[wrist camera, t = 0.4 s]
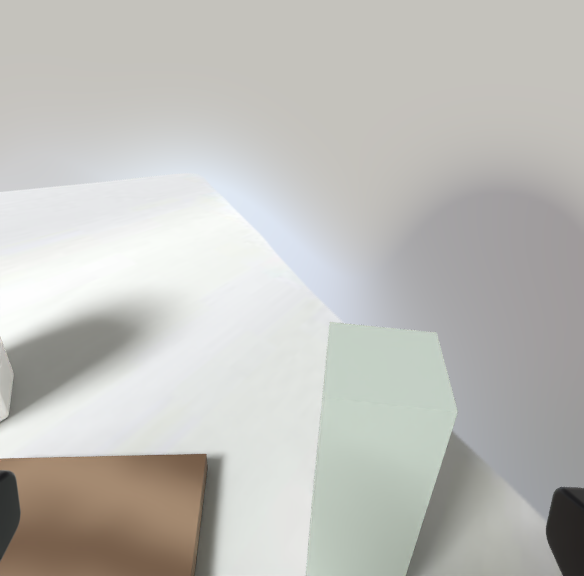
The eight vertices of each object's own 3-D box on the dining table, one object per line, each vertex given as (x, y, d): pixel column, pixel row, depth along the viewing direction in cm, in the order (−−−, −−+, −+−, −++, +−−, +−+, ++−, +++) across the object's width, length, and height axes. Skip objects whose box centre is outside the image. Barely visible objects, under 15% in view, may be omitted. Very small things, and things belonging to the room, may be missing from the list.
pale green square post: (398, 598, 21) (457, 412, 15) (304, 584, 22) (324, 396, 15) (391, 510, 25) (436, 332, 19) (312, 500, 26) (329, 322, 19)
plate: (174, 738, 17) (171, 727, 16) (-164, 760, 16) (-180, 749, 16) (207, 467, 27) (206, 454, 27) (2, 472, 26) (-4, 458, 26)
